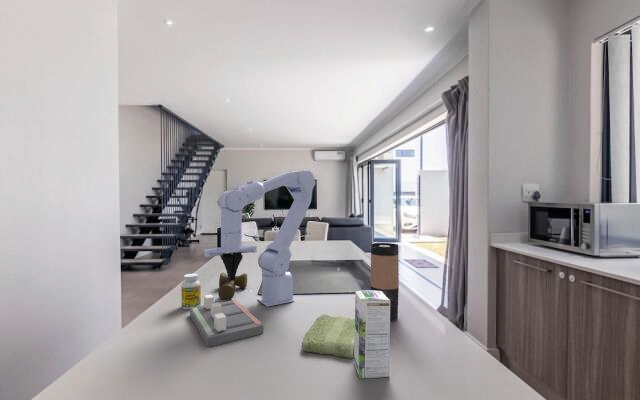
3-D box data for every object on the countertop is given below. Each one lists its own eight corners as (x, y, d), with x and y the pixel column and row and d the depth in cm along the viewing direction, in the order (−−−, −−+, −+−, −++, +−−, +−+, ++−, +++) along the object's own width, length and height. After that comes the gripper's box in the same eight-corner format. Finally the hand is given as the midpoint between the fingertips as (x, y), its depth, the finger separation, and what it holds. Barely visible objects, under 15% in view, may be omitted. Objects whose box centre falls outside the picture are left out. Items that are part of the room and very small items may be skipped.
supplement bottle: (198, 302, 96) (198, 272, 96) (202, 307, 92) (202, 275, 92) (180, 305, 93) (179, 274, 93) (183, 311, 89) (183, 278, 89)
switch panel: (235, 306, 93) (235, 299, 93) (263, 333, 74) (263, 324, 74) (189, 315, 86) (189, 307, 86) (207, 347, 67) (207, 337, 67)
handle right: (211, 304, 88) (211, 294, 88) (214, 307, 85) (214, 297, 85) (204, 306, 87) (204, 295, 87) (206, 309, 84) (206, 298, 84)
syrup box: (353, 362, 61) (353, 290, 61) (382, 361, 62) (382, 289, 62) (359, 379, 55) (359, 299, 55) (391, 377, 56) (391, 298, 56)
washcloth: (367, 327, 79) (367, 315, 79) (357, 363, 62) (357, 347, 62) (318, 322, 82) (318, 310, 82) (296, 354, 65) (296, 339, 65)
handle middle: (218, 313, 81) (218, 302, 81) (221, 317, 78) (221, 305, 78) (210, 315, 80) (210, 303, 80) (213, 319, 77) (213, 307, 77)
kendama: (210, 302, 98) (223, 283, 118) (240, 302, 99) (249, 283, 119) (210, 284, 98) (223, 268, 118) (241, 284, 99) (249, 268, 119)
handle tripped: (222, 325, 74) (222, 312, 74) (226, 329, 71) (226, 316, 71) (214, 326, 72) (214, 314, 72) (217, 331, 70) (217, 318, 70)
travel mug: (400, 314, 87) (401, 243, 87) (395, 324, 80) (395, 247, 80) (374, 309, 90) (374, 242, 90) (367, 319, 83) (367, 245, 83)
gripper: (208, 235, 81) (208, 286, 81) (260, 232, 89) (260, 279, 89) (202, 232, 87) (202, 280, 87) (251, 230, 95) (251, 273, 95)
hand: (231, 279), depth 88 cm, fingers closed
